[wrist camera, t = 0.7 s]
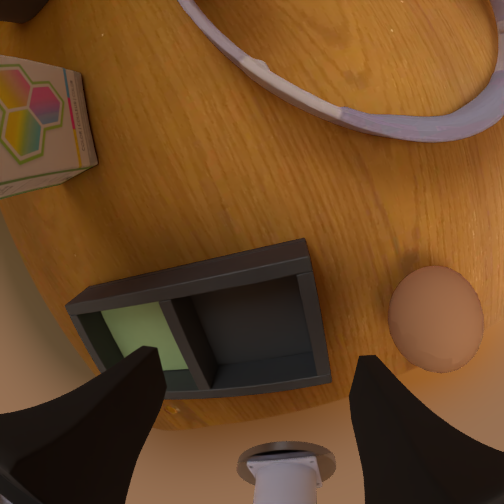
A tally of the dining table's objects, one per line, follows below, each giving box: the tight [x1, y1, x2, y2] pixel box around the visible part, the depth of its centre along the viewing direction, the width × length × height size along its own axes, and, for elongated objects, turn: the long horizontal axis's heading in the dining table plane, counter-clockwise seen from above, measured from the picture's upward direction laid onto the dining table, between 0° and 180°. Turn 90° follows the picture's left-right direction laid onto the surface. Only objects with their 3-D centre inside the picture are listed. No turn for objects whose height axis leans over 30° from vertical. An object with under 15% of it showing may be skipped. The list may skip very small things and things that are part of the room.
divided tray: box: [65, 238, 332, 399], centre depth 17 cm, size 8×15×3 cm, turn 105°
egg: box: [388, 266, 484, 373], centre depth 13 cm, size 5×5×7 cm
